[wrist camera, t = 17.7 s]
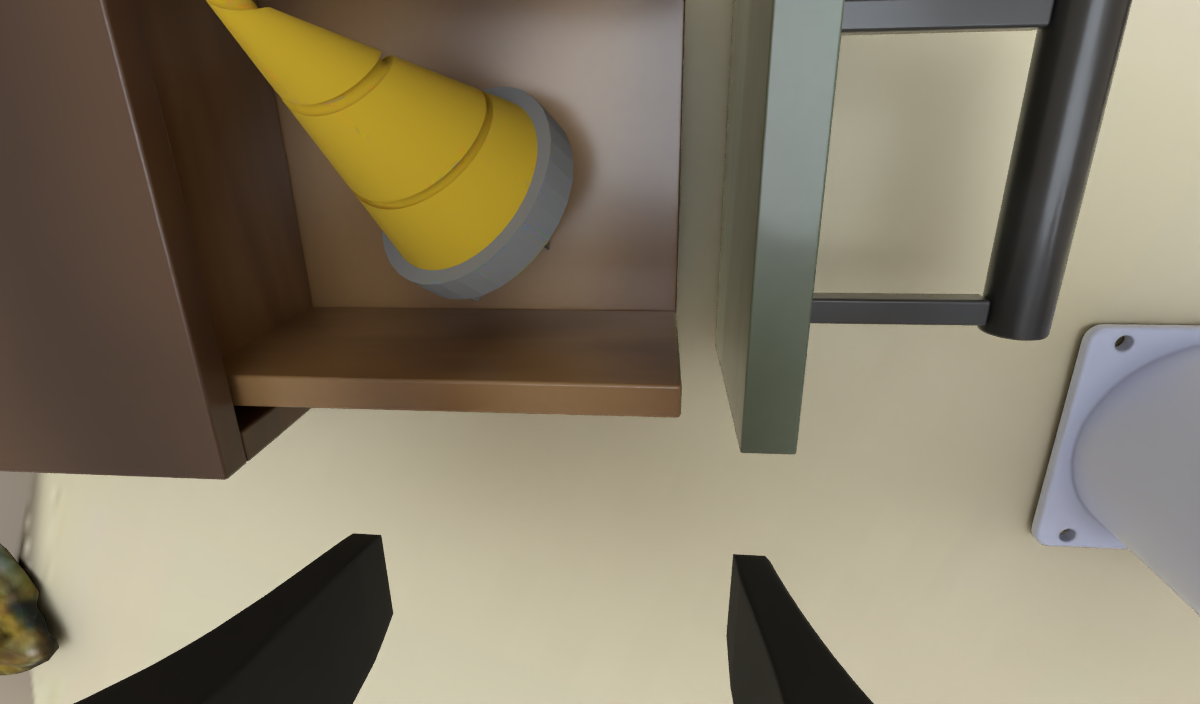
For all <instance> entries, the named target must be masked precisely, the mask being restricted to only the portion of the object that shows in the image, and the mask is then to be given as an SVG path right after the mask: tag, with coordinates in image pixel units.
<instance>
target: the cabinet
mask: <svg viewBox="0 0 1200 704" xmlns="http://www.w3.org/2000/svg"><path fill="white" fill-rule="evenodd" d="M310 409H311V408H307V407H270V406H233V402H232V398H231V394H230V390H229V386H228V381H227V377H226V373H225V369H224V365H223V361H222V357H221V353H220V348H219V344H218V340H217V336H216V332H215V328H214V324H213V320H212V315H211V311H210V307H209V303H208V299H207V295H206V291H205V287H204V282H203V278H202V274H201V270H200V266H199V262H198V258H197V254H196V249H195V245H194V241H193V237H192V233H191V229H190V225H189V221H188V216H187V212H186V208H185V204H184V200H183V196H182V192H181V188H180V183H179V179H178V175H177V171H176V167H175V163H174V159H173V155H172V150H171V146H170V142H169V138H168V134H167V130H166V126H165V122H164V118H163V113H162V109H161V105H160V101H159V97H158V93H157V89H156V85H155V80H154V76H153V72H152V68H151V64H150V60H149V56H148V52H147V47H146V43H145V39H144V35H143V31H142V27H141V23H140V19H139V14H138V10H137V6H136V2H135V0H0V471H13V472H39V473H66V474H92V475H118V476H145V477H171V478H197V479H224V480H225V479H228V478H229V477H230V476H231V475H233V474H234V473H235V472H236V471H237V470H239V469H240V468H241V467H242V466H243V465H244V464H246V461H249V460H251V459H252V458H253V457H254V456H255V455H256V454H258V453H259V452H260V451H261V450H262V449H264V448H265V447H266V446H267V445H268V444H269V443H271V442H272V441H273V440H274V439H275V438H277V437H278V436H279V435H280V434H281V433H282V432H284V431H285V430H286V429H287V428H288V427H289V426H291V425H292V424H293V423H294V422H295V421H297V420H298V419H299V418H300V417H301V416H302V415H304V414H305V413H306V412H307V411H308V410H310Z"/></svg>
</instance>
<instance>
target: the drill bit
mask: <svg viewBox="0 0 1200 704" xmlns="http://www.w3.org/2000/svg"><path fill="white" fill-rule="evenodd" d="M206 1H207V3H208V4H209V5H210V7H211V8H212V9H213V11H214V12H215V13H216V15H217V16H218V17H219V18H220V20H221V21H222V22H223V24H224V25H225V26H226V28H227V29H228V30H229V31H230V33H231V34H232V35H233V37H234V38H235V39H236V41H237V42H238V43H239V44H240V46H241V47H242V48H243V50H244V51H245V52H246V54H247V55H248V56H249V58H250V59H251V60H252V61H253V63H254V64H255V65H256V67H257V68H258V69H259V71H260V72H261V73H262V74H263V76H264V77H265V78H266V80H267V81H268V82H269V84H270V85H271V86H272V87H273V89H274V90H275V91H276V92H277V93H278V94H279V95H280V97H281V99H282V100H283V102H284V103H285V104H286V106H287V107H288V108H289V110H290V111H291V112H292V113H293V115H294V116H295V117H296V119H297V120H298V121H299V123H300V124H301V125H302V127H303V128H304V129H305V130H306V132H307V133H308V134H309V136H310V137H311V138H312V140H313V141H314V142H315V143H316V145H317V146H318V147H319V149H320V150H321V151H322V153H323V154H324V155H325V156H326V158H327V159H328V160H329V162H330V163H331V164H332V166H333V167H334V168H335V169H336V171H337V172H338V173H339V175H340V176H341V177H342V179H343V180H344V181H345V182H346V184H347V185H348V186H349V188H350V189H351V190H352V192H353V193H354V194H355V195H356V197H357V198H358V199H359V201H360V202H361V203H362V205H363V206H364V207H365V208H366V210H367V211H368V212H369V214H370V215H371V216H372V218H373V219H374V220H375V222H376V223H377V224H378V225H379V227H380V228H381V229H382V237H383V243H384V249H385V252H386V254H387V257H388V259H389V261H390V264H391V265H392V266H393V267H394V269H395V270H396V271H397V272H398V273H399V274H400V275H401V276H403V277H405V278H406V279H408V280H409V281H411V282H413V283H415V284H417V285H419V286H420V287H422V288H424V289H426V290H428V291H430V292H432V293H434V294H436V295H437V296H441V297H444V298H448V299H470V298H471V299H473V300H475V301H477V302H478V301H479V300H480V299H481V298H482V297H483V296H484V295H485V294H487V293H489V292H491V291H493V290H496V289H498V288H500V287H502V286H503V285H504V284H506V283H507V282H509V281H510V280H512V279H513V278H514V277H516V276H517V275H518V274H520V273H521V272H522V271H523V270H524V269H525V268H526V267H527V266H528V265H529V264H530V263H531V262H532V261H533V260H534V259H535V258H536V257H537V255H538V254H539V253H540V251H541V250H542V249H543V248H546V249H548V250H549V247H550V238H551V236H552V234H553V233H554V231H555V229H556V227H557V226H558V224H559V222H560V220H561V217H562V215H563V213H564V210H565V208H566V205H567V203H568V199H569V195H570V191H571V187H572V182H573V166H574V162H573V155H572V149H571V145H570V142H569V140H568V138H567V135H566V133H565V131H564V130H563V129H562V128H561V126H560V125H559V124H558V123H557V122H556V120H555V119H554V118H553V117H552V116H551V115H550V114H549V113H548V112H547V111H546V110H545V109H544V108H543V107H542V106H541V105H540V103H539V102H538V101H537V100H536V99H535V98H534V97H532V96H531V95H529V94H528V93H526V92H524V91H523V90H520V89H516V88H512V87H493V88H489V89H485V90H479V89H477V88H474V87H472V86H469V85H467V84H464V83H462V82H459V81H457V80H454V79H451V78H449V77H446V76H444V75H441V74H439V73H436V72H434V71H431V70H428V69H426V68H423V67H421V66H418V65H416V64H413V63H411V62H408V61H406V60H403V59H400V58H398V57H395V56H393V55H388V56H386V57H384V58H383V59H382V60H381V59H380V56H381V51H380V50H377V49H375V48H372V47H370V46H367V45H365V44H362V43H360V42H357V41H355V40H352V39H349V38H347V37H344V36H342V35H339V34H337V33H334V32H332V31H329V30H326V29H324V28H321V27H319V26H316V25H314V24H311V23H309V22H306V21H303V20H301V19H298V18H296V17H293V16H291V15H288V14H286V13H283V12H281V11H278V10H275V9H273V8H270V7H264V8H259V9H258V7H257V6H256V4H255V3H254V2H253V1H251V0H206Z"/></svg>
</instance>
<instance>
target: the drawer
mask: <svg viewBox="0 0 1200 704" xmlns="http://www.w3.org/2000/svg"><path fill="white" fill-rule="evenodd" d="M251 1H253V2H254V3H255V4H256V6H257V7H258V9H259V8H264V7H270V8H273V9H275V10H278V11H281V12H283V13H286V14H288V15H291V16H293V17H296V18H298V19H301V20H303V21H306V22H309V23H311V24H314V25H316V26H319V27H321V28H324V29H326V30H329V31H332V32H334V33H337V34H339V35H342V36H344V37H347V38H349V39H352V40H355V41H357V42H360V43H362V44H365V45H367V46H370V47H372V48H375V49H377V50H380V51H381V56H380V59H381V60H382V59H383V58H384V57H386V56H388V55H393V56H395V57H398V58H400V59H403V60H406V61H408V62H411V63H413V64H416V65H418V66H421V67H423V68H426V69H428V70H431V71H434V72H436V73H439V74H441V75H444V76H446V77H449V78H451V79H454V80H457V81H459V82H462V83H464V84H467V85H469V86H472V87H474V88H477V89H479V90H485V89H489V88H493V87H512V88H516V89H520V90H523V91H524V92H526V93H528V94H529V95H531V96H532V97H534V98H535V99H536V100H537V101H538V102H539V103H540V105H541V106H542V107H543V108H544V109H545V110H546V111H547V112H548V113H549V114H550V115H551V116H552V117H553V118H554V119H555V120H556V122H557V123H558V124H559V125H560V126H561V128H562V129H563V130H564V131H565V133H566V135H567V138H568V140H569V142H570V145H571V149H572V155H573V162H574V166H573V182H572V187H571V191H570V195H569V199H568V203H567V205H566V208H565V210H564V213H563V215H562V217H561V220H560V222H559V224H558V226H557V227H556V229H555V231H554V233H553V234H552V236H551V238H550V247H549V250H548V249H546V248H543V249H542V250H541V251H540V253H539V254H538V255H537V257H536V258H535V259H534V260H533V261H532V262H531V263H530V264H529V265H528V266H527V267H526V268H525V269H524V270H523V271H522V272H521V273H520V274H518V275H517V276H516V277H514V278H513V279H512V280H510V281H509V282H507V283H506V284H504V285H503V286H502V287H500V288H498V289H496V290H493V291H491V292H489V293H487V294H485V295H484V296H483V297H482V298H481V299H480V300H479V301H478V302H477V301H475V300H473V299H471V298H470V299H448V298H444V297H441V296H437V295H436V294H434V293H432V292H430V291H428V290H426V289H424V288H422V287H420V286H419V285H417V284H415V283H413V282H411V281H409V280H408V279H406V278H405V277H403V276H401V275H400V274H399V273H398V272H397V271H396V270H395V269H394V267H393V266H392V265H391V264H390V261H389V259H388V257H387V254H386V252H385V249H384V243H383V237H382V229H381V228H380V227H379V225H378V224H377V223H376V222H375V220H374V219H373V218H372V216H371V215H370V214H369V212H368V211H367V210H366V208H365V207H364V206H363V205H362V203H361V202H360V201H359V199H358V198H357V197H356V195H355V194H354V193H353V192H352V190H351V189H350V188H349V186H348V185H347V184H346V182H345V181H344V180H343V179H342V177H341V176H340V175H339V173H338V172H337V171H336V169H335V168H334V167H333V166H332V164H331V163H330V162H329V160H328V159H327V158H326V156H325V155H324V154H323V153H322V151H321V150H320V149H319V147H318V146H317V145H316V143H315V142H314V141H313V140H312V138H311V137H310V136H309V134H308V133H307V132H306V130H305V129H304V128H303V127H302V125H301V124H300V123H299V121H298V120H297V119H296V117H295V116H294V115H293V113H292V112H291V111H290V110H289V108H288V107H287V106H286V104H285V103H284V102H283V100H282V99H281V97H280V95H279V94H278V93H277V92H276V91H275V90H274V89H273V87H272V86H271V85H270V84H269V82H268V81H267V80H266V78H265V77H264V76H263V74H262V73H261V72H260V71H259V69H258V68H257V67H256V65H255V64H254V63H253V61H252V60H251V59H250V58H249V56H248V55H247V54H246V52H245V51H244V50H243V48H242V47H241V46H240V44H239V43H238V42H237V41H236V39H235V38H234V37H233V35H232V34H231V33H230V31H229V30H228V29H227V28H226V26H225V25H224V24H223V22H222V21H221V20H220V18H219V17H218V16H217V15H216V13H215V12H214V11H213V9H212V8H211V7H210V5H209V4H208V3H207V1H206V0H135V2H136V6H137V10H138V14H139V19H140V23H141V27H142V31H143V35H144V39H145V43H146V47H147V52H148V56H149V60H150V64H151V68H152V72H153V76H154V80H155V85H156V89H157V93H158V97H159V101H160V105H161V109H162V113H163V118H164V122H165V126H166V130H167V134H168V138H169V142H170V146H171V150H172V155H173V159H174V163H175V167H176V171H177V175H178V179H179V183H180V188H181V192H182V196H183V200H184V204H185V208H186V212H187V216H188V221H189V225H190V229H191V233H192V237H193V241H194V245H195V249H196V254H197V258H198V262H199V266H200V270H201V274H202V278H203V282H204V287H205V291H206V295H207V299H208V303H209V307H210V311H211V315H212V320H213V324H214V328H215V332H216V336H217V340H218V344H219V348H220V353H221V357H222V361H223V365H224V369H225V373H226V377H227V381H228V386H229V390H230V394H231V398H232V402H233V406H270V407H307V408H344V409H382V410H419V411H456V412H493V413H530V414H567V415H605V416H642V417H679V416H680V415H681V395H682V385H681V371H680V358H679V344H678V331H677V318H676V301H677V266H678V231H679V197H680V162H681V127H682V93H683V58H684V23H685V0H251ZM1131 3H1132V0H734V5H733V24H732V43H731V62H730V81H729V100H728V119H727V138H726V157H725V176H724V195H723V213H722V232H721V251H720V270H719V289H718V308H717V327H716V349H717V354H718V358H719V362H720V366H721V371H722V375H723V379H724V384H725V388H726V392H727V397H728V401H729V405H730V409H731V414H732V418H733V422H734V427H735V431H736V435H737V439H738V444H739V448H740V452H742V453H765V454H796V450H797V440H798V431H799V422H800V412H801V403H802V394H803V384H804V375H805V366H806V357H807V347H808V338H809V329H810V323H833V324H907V325H977V327H978V328H979V329H980V330H981V331H983V332H985V333H988V334H990V335H993V336H997V337H1001V338H1006V339H1012V340H1024V341H1032V340H1041V339H1045V338H1046V337H1047V336H1048V335H1049V332H1050V328H1051V324H1052V320H1053V316H1054V312H1055V308H1056V304H1057V300H1058V296H1059V292H1060V288H1061V284H1062V280H1063V276H1064V272H1065V268H1066V264H1067V260H1068V256H1069V252H1070V248H1071V244H1072V240H1073V236H1074V232H1075V228H1076V224H1077V220H1078V216H1079V212H1080V208H1081V204H1082V200H1083V196H1084V192H1085V188H1086V184H1087V180H1088V176H1089V172H1090V168H1091V164H1092V160H1093V156H1094V152H1095V148H1096V144H1097V140H1098V136H1099V132H1100V128H1101V124H1102V120H1103V116H1104V112H1105V108H1106V104H1107V100H1108V96H1109V92H1110V88H1111V84H1112V80H1113V76H1114V72H1115V68H1116V64H1117V60H1118V55H1119V51H1120V47H1121V43H1122V39H1123V35H1124V31H1125V27H1126V23H1127V19H1128V15H1129V11H1130V7H1131ZM1036 29H1037V34H1036V39H1035V44H1034V49H1033V54H1032V59H1031V63H1030V68H1029V73H1028V78H1027V83H1026V88H1025V93H1024V98H1023V102H1022V107H1021V112H1020V117H1019V122H1018V127H1017V132H1016V136H1015V141H1014V146H1013V151H1012V156H1011V161H1010V166H1009V170H1008V175H1007V180H1006V185H1005V190H1004V195H1003V200H1002V205H1001V209H1000V214H999V219H998V224H997V229H996V234H995V239H994V243H993V248H992V253H991V258H990V263H989V268H988V273H987V278H986V282H985V287H984V292H983V296H981V295H979V294H890V293H813V291H814V282H815V273H816V264H817V254H818V245H819V236H820V226H821V217H822V208H823V198H824V189H825V180H826V171H827V161H828V152H829V143H830V133H831V124H832V115H833V106H834V96H835V87H836V78H837V68H838V59H839V50H840V40H841V35H874V34H912V33H951V32H989V31H1028V30H1036Z"/></svg>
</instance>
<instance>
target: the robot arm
mask: <svg viewBox="0 0 1200 704" xmlns="http://www.w3.org/2000/svg"><path fill="white" fill-rule="evenodd" d="M1121 336H1125V340H1124V342H1123V343H1122V344H1121V345H1119V346H1117V347H1115V342H1116V341H1117V339H1118V338H1120V337H1121ZM1065 529H1068V531H1067V532H1066V533H1064V534H1060V533H1061V532H1062V531H1063V530H1065ZM1031 533H1032V535H1033V536H1034V538H1035V539H1036V540H1037V541H1038V542H1039V543H1041V544H1042V545H1047V546H1066V547H1089V548H1113V549H1129V550H1130V551H1131V552H1132V553H1133V554H1134V555H1135V556H1136V557H1137V558H1138V559H1140V560H1141V561H1142V562H1143V563H1144V564H1145V565H1146V566H1147V567H1148V568H1149V569H1150V570H1151V571H1152V572H1153V573H1154V574H1156V575H1157V576H1158V577H1159V578H1160V579H1161V580H1162V581H1163V582H1164V583H1165V584H1166V585H1167V586H1168V587H1169V588H1170V589H1172V590H1173V591H1174V592H1175V593H1176V594H1177V595H1178V596H1179V597H1180V598H1181V599H1182V600H1183V601H1184V602H1185V603H1187V604H1188V605H1189V606H1190V607H1191V608H1192V609H1193V610H1194V611H1195V612H1196V613H1197V614H1198V615H1199V616H1200V325H1139V324H1101V325H1096V326H1094V327H1092V328H1090V329H1089V330H1088V331H1087V332H1086V333H1085V335H1084V337H1083V339H1082V342H1081V346H1080V349H1079V353H1078V357H1077V360H1076V364H1075V368H1074V371H1073V375H1072V379H1071V383H1070V386H1069V390H1068V394H1067V397H1066V401H1065V405H1064V409H1063V412H1062V416H1061V420H1060V423H1059V427H1058V431H1057V435H1056V438H1055V442H1054V446H1053V449H1052V453H1051V457H1050V460H1049V464H1048V468H1047V472H1046V475H1045V479H1044V483H1043V486H1042V490H1041V494H1040V498H1039V501H1038V505H1037V509H1036V512H1035V516H1034V520H1033V523H1032V527H1031ZM392 615H393V609H392V602H391V596H390V589H389V583H388V576H387V570H386V563H385V557H384V550H383V544H382V537H381V535H370V534H352V535H350V536H349V537H347V538H345V539H344V540H342V541H341V542H340V543H338V544H337V545H335V546H334V547H332V548H331V549H330V550H328V551H327V552H325V553H324V554H323V555H321V556H320V557H319V558H317V559H316V560H314V561H313V562H312V563H310V564H309V565H308V566H306V567H305V568H303V569H302V570H301V571H299V572H298V573H296V574H295V575H294V576H292V577H291V578H289V579H288V580H287V581H285V582H284V583H282V584H281V585H280V586H278V587H277V588H275V589H274V590H272V591H271V592H270V593H268V594H267V595H265V596H264V597H262V598H261V599H259V600H258V601H256V602H255V603H253V604H252V605H250V606H249V607H247V608H246V609H244V610H243V611H241V612H240V613H238V614H237V615H235V616H234V617H232V618H231V619H229V620H228V621H226V622H225V623H223V624H221V625H220V626H218V627H217V628H215V629H214V630H212V631H211V632H209V633H207V634H206V635H204V636H202V637H201V638H199V639H197V640H196V641H194V642H192V643H191V644H189V645H187V646H185V647H184V648H182V649H180V650H178V651H177V652H175V653H173V654H171V655H169V656H168V657H166V658H164V659H162V660H161V661H159V662H157V663H155V664H153V665H151V666H150V667H148V668H146V669H144V670H142V671H140V672H138V673H136V674H134V675H132V676H130V677H128V678H126V679H124V680H122V681H120V682H118V683H116V684H114V685H112V686H110V687H108V688H105V689H103V690H101V691H99V692H97V693H95V694H93V695H91V696H89V697H87V698H85V699H83V700H81V701H79V702H76V703H74V704H353V702H354V700H355V698H356V697H357V695H358V693H359V691H360V689H361V687H362V685H363V683H364V681H365V679H366V678H367V676H368V674H369V672H370V670H371V668H372V666H373V664H374V662H375V660H376V657H377V655H378V652H379V650H380V647H381V645H382V642H383V640H384V637H385V634H386V632H387V629H388V626H389V623H390V621H391V618H392ZM727 648H728V661H729V674H730V686H731V692H732V698H733V703H734V704H874V703H873V702H872V701H871V700H870V699H869V698H868V697H867V696H866V694H865V693H864V692H863V691H862V690H861V689H860V688H859V686H858V685H857V684H856V683H855V682H854V681H853V679H852V678H851V677H850V676H849V674H848V673H847V672H846V671H845V670H844V668H843V667H842V666H841V665H840V663H839V662H838V661H837V660H836V658H835V657H834V656H833V655H832V653H831V652H830V651H829V649H828V648H827V647H826V645H825V644H824V643H823V641H822V640H821V639H820V637H819V636H818V635H817V633H816V632H815V630H814V629H813V628H812V626H811V625H810V623H809V622H808V621H807V619H806V618H805V616H804V615H803V614H802V612H801V611H800V609H799V608H798V606H797V605H796V603H795V602H794V600H793V599H792V597H791V595H790V594H789V592H788V591H787V589H786V588H785V586H784V584H783V583H782V581H781V580H780V578H779V576H778V575H777V573H776V571H775V569H774V568H773V566H772V564H771V562H770V561H769V560H768V559H767V558H766V557H765V556H755V555H737V554H733V564H732V576H731V588H730V600H729V612H728V624H727Z"/></svg>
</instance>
